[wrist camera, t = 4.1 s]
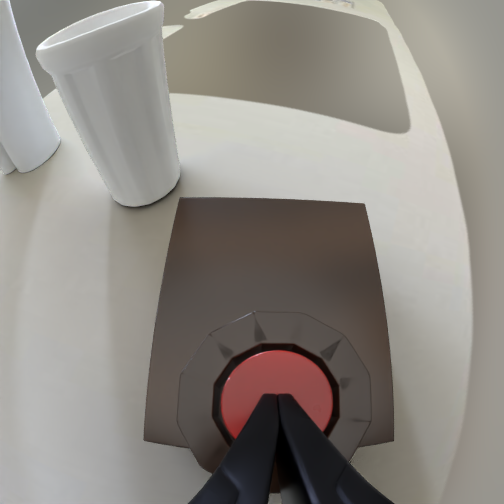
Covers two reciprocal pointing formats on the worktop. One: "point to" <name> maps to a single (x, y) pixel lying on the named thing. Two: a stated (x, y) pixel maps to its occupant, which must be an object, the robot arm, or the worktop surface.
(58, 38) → the cup
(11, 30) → the vase
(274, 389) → the led button
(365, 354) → the switch block
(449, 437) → the worktop surface
